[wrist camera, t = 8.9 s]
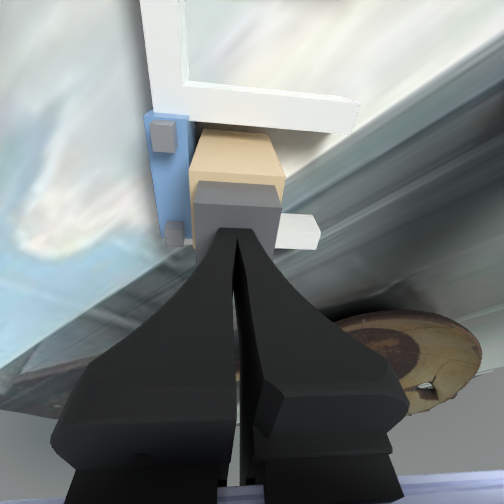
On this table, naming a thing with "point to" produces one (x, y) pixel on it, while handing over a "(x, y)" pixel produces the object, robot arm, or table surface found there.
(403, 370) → the oil lamp
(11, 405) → the table surface
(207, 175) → the beige tall block
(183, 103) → the white frame
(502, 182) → the table surface
